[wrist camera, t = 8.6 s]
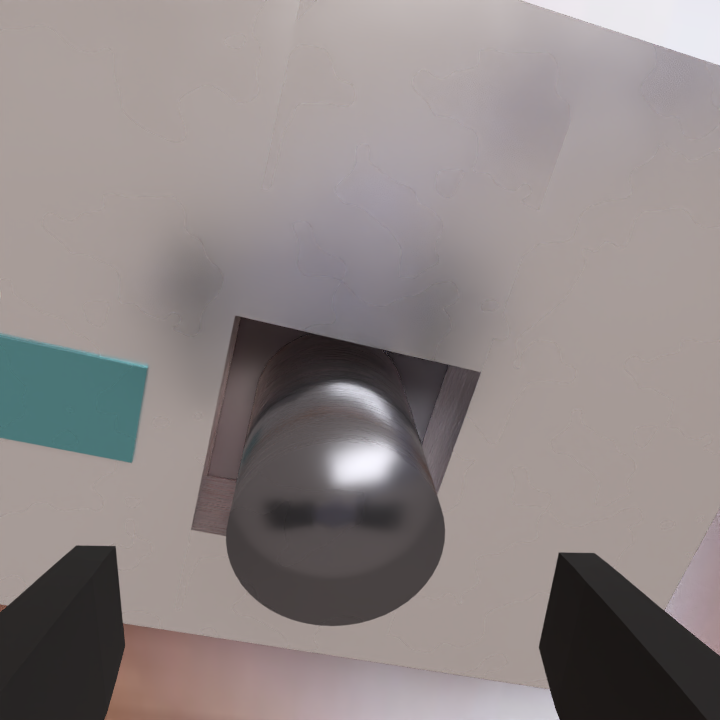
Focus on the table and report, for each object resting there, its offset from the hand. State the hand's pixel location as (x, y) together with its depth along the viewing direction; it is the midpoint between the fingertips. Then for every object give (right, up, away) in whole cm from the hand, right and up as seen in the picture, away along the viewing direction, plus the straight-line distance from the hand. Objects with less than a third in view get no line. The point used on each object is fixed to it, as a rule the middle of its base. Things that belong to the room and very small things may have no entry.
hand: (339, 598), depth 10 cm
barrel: (-1, +3, +7) cm, 7 cm away
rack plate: (0, +4, +6) cm, 8 cm away
